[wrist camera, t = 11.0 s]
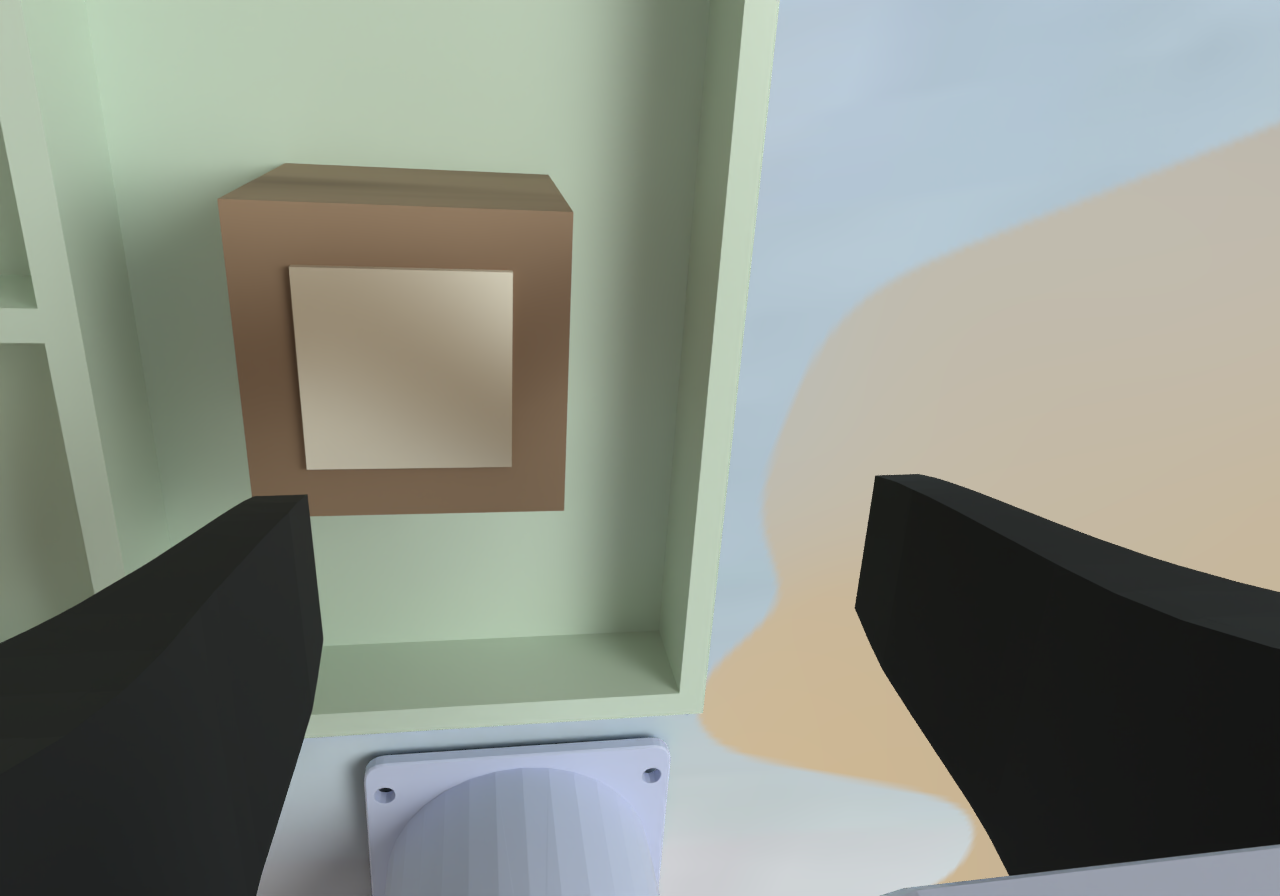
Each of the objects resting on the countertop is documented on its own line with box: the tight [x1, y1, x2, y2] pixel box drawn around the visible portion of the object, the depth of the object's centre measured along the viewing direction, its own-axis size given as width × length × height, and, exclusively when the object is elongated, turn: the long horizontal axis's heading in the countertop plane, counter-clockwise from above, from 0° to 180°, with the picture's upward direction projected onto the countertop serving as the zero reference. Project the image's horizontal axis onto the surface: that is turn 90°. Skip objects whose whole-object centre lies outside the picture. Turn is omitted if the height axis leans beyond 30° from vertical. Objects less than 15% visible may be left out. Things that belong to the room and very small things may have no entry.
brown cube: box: [217, 163, 573, 516], centre depth 16 cm, size 5×5×5 cm
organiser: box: [0, 0, 780, 738], centre depth 17 cm, size 18×24×3 cm
